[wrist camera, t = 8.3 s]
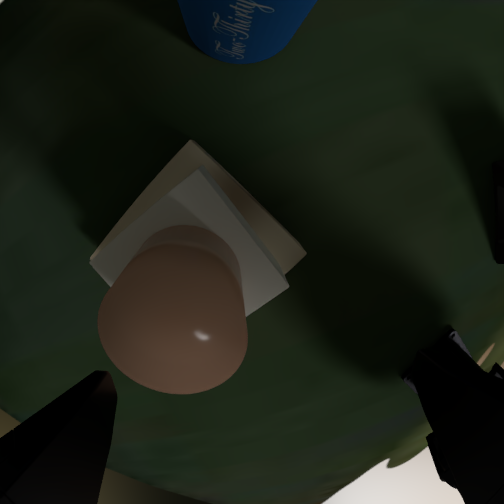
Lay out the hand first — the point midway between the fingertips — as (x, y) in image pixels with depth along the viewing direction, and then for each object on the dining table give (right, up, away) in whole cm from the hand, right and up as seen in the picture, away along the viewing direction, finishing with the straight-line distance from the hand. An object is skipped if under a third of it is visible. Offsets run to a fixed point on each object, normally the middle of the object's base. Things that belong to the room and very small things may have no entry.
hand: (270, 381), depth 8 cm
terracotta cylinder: (-4, +2, +7) cm, 8 cm away
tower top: (-4, +3, +10) cm, 11 cm away
